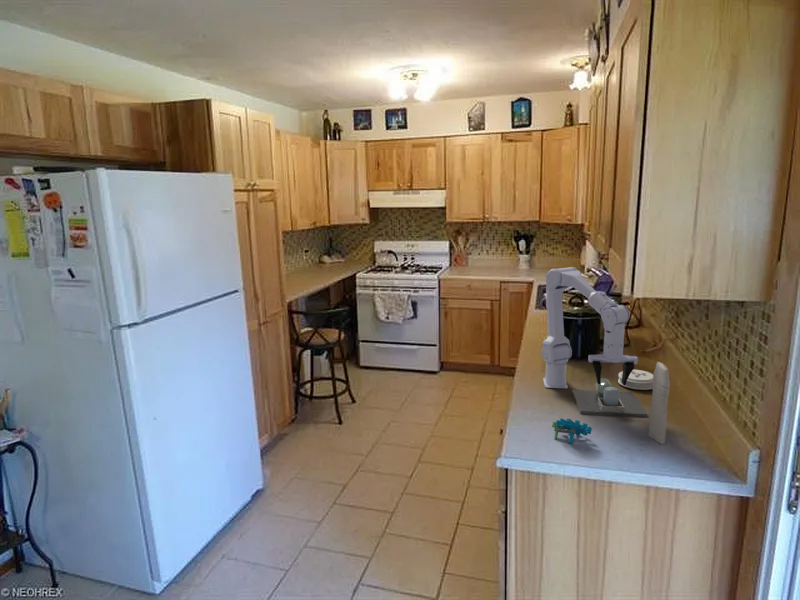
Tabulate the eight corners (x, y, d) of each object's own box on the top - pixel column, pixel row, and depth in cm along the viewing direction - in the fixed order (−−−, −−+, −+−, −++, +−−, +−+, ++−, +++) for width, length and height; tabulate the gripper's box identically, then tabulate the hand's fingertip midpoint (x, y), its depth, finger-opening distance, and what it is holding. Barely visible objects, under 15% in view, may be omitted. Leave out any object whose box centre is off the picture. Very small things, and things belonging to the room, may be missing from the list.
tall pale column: (670, 445, 139) (677, 370, 135) (655, 444, 140) (661, 370, 135) (658, 428, 149) (664, 358, 145) (643, 427, 150) (648, 357, 146)
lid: (621, 377, 192) (622, 364, 191) (658, 383, 185) (659, 370, 184) (614, 387, 182) (615, 374, 181) (652, 394, 175) (654, 381, 174)
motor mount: (572, 392, 178) (572, 376, 177) (632, 395, 174) (633, 378, 173) (580, 413, 161) (581, 396, 159) (647, 417, 157) (648, 399, 156)
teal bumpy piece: (596, 432, 144) (586, 418, 138) (593, 452, 141) (583, 438, 135) (559, 428, 151) (548, 414, 145) (555, 446, 148) (544, 433, 142)
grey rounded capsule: (601, 403, 165) (602, 386, 164) (615, 404, 165) (616, 386, 164) (605, 409, 161) (606, 391, 160) (619, 409, 160) (620, 392, 159)
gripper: (592, 346, 156) (589, 387, 159) (641, 347, 154) (638, 389, 156) (587, 340, 163) (585, 379, 166) (635, 341, 160) (632, 381, 163)
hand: (611, 383), depth 162 cm, fingers open, 7 cm apart
